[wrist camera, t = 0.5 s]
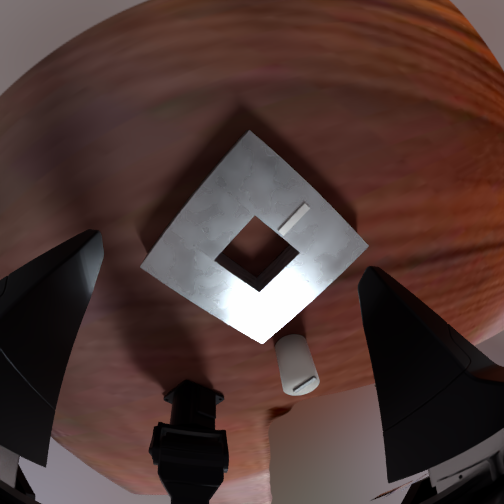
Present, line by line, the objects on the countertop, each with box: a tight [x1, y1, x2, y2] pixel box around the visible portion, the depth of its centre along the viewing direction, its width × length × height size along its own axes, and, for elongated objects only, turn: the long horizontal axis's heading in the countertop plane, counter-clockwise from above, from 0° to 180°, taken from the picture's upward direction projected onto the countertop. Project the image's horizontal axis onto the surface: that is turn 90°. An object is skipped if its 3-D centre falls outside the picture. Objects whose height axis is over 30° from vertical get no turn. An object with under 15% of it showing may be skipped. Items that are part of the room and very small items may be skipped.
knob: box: [275, 334, 319, 395], centre depth 28 cm, size 4×4×6 cm
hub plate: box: [140, 130, 368, 343], centre depth 23 cm, size 14×14×3 cm
